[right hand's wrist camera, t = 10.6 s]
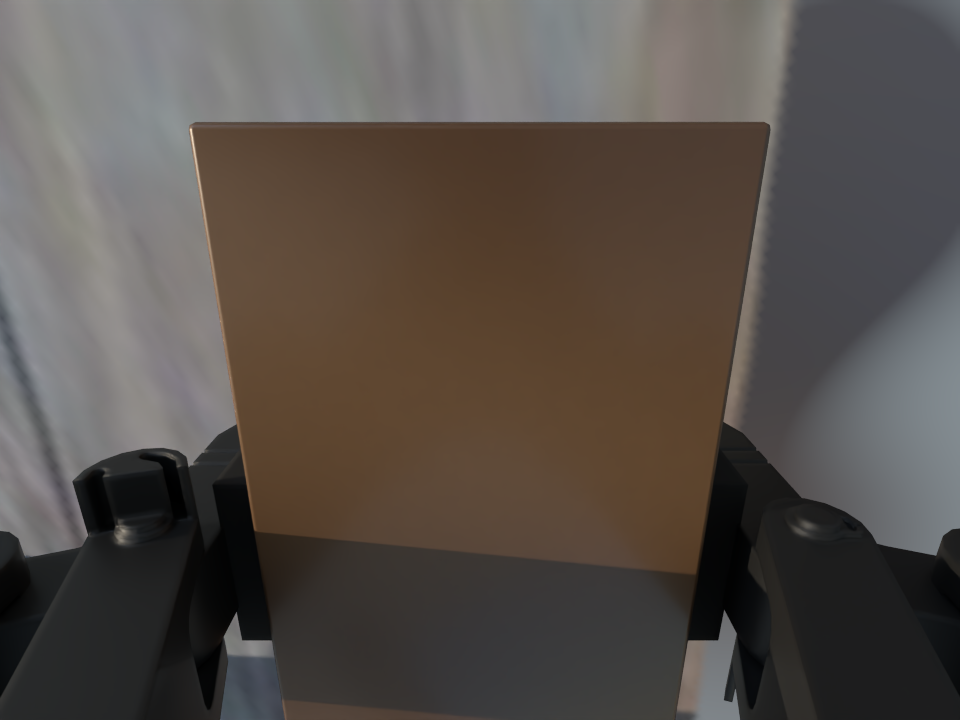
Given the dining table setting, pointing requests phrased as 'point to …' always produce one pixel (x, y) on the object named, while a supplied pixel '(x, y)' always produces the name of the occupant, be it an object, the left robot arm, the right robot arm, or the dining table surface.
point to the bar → (479, 401)
